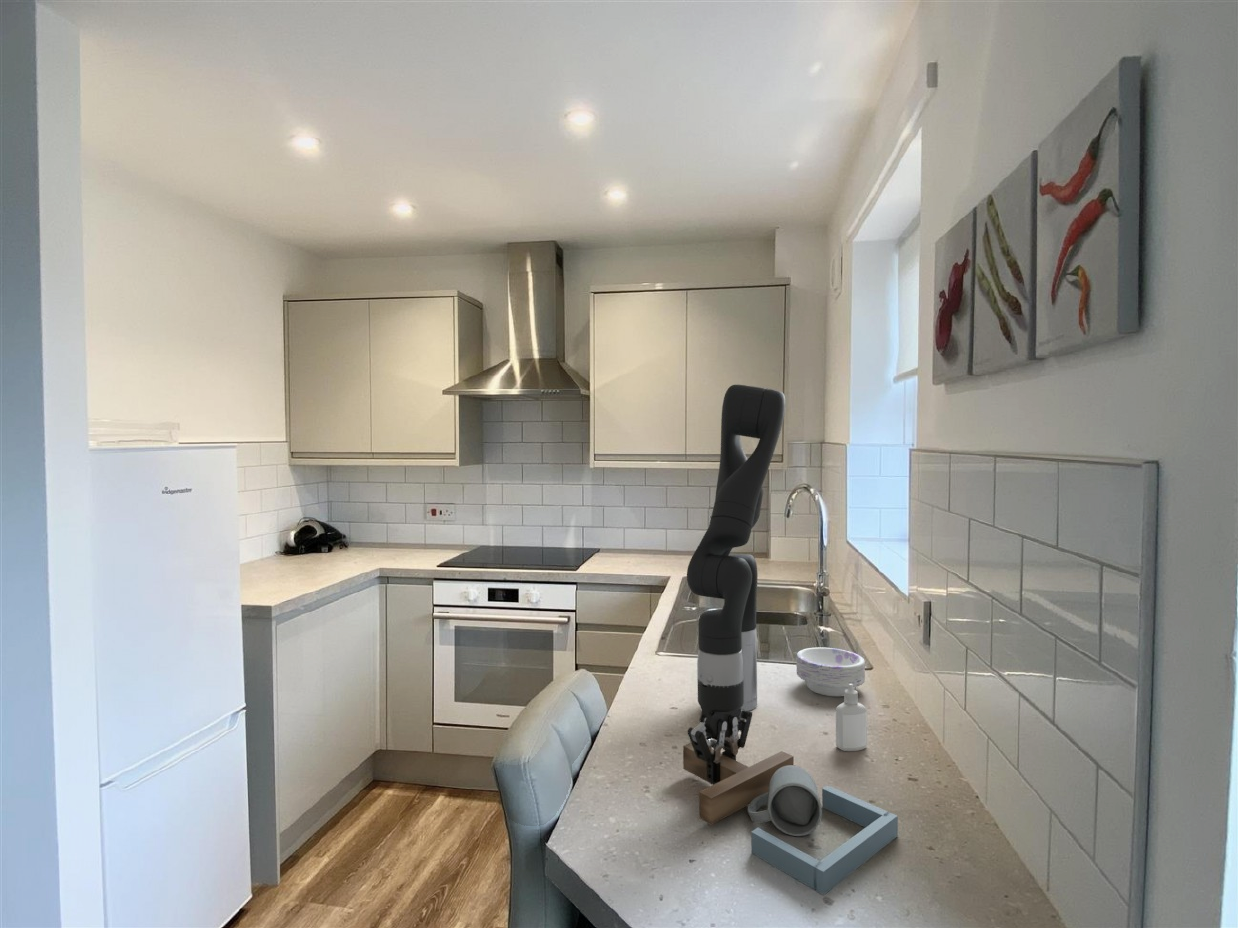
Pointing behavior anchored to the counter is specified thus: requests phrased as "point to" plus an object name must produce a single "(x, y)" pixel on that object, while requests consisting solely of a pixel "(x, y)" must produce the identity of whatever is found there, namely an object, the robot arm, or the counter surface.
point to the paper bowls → (830, 670)
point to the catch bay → (840, 861)
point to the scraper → (732, 782)
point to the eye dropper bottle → (851, 722)
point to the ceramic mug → (789, 802)
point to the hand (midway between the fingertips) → (721, 778)
